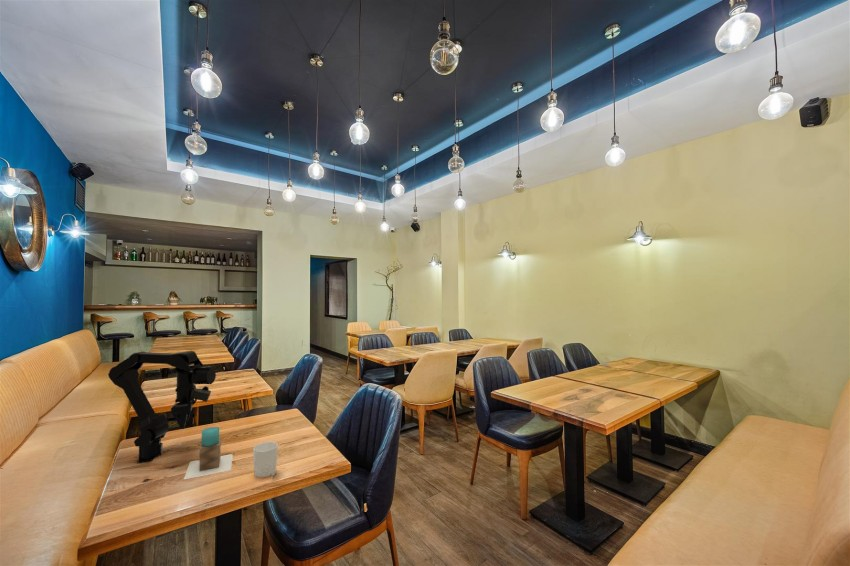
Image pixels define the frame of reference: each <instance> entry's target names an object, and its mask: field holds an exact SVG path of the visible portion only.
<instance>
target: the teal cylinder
mask: <svg viewBox="0 0 850 566" xmlns="http://www.w3.org/2000/svg"><path fill="white" fill-rule="evenodd" d="M219 439H220V427H219V426H218V427H217V426H212V427H207V428H204V429H203V430H201V443H202V447H210V446H214V445H216V444H218V443H219Z"/></svg>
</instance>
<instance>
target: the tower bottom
mask: <svg viewBox="0 0 850 566" xmlns="http://www.w3.org/2000/svg"><path fill="white" fill-rule="evenodd" d="M220 453H221V450H220ZM220 456H221V454H220V455H219V456H218V457H213V458H207V459H202V460H200V459H199V460H200V464H199V471H204V470H209V469H214V468H219V465H220Z"/></svg>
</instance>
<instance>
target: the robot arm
mask: <svg viewBox="0 0 850 566" xmlns="http://www.w3.org/2000/svg"><path fill="white" fill-rule="evenodd" d="M144 364H154V365H155V364H157V365H169V366H171V367H173V368H174V369H172V370H171V371H170V373H171V374H176V387H175V389H174V390H175V391H174V392H175V393H176V395H175V397H176V398H175V400H174V401H175V402H174V404H173V405H172V406H171V408H170V414H171V415H172V416H173V417H174V419H175V421H176V422H177V424H178V426H179V427H180V429H181V430H183V429H185V426H186V422H187V421H189V420H190V415H191V412H192V410H193V406H194V405H195V404H196V403H197V401H203V402H204V403H205V402H208V401H209V398H210V396H211V393H212V391H211V390H210V389H209V386H207V385H212V384H213V383H215V380H216V377H217V374H216V371H215V370H214V369H213V366H212V365H210V366H209V365H208V366H205V365H204V364H203V363H202V360H200V358H199V357H198V355H197V353H196V351H193V350H188V351H180V352H175V353H174V352H173V353H172V352H171V353H170V352H153V351H152V352H150V351H138V352H134V353H132V354H131V355H129V356H128V357H127V358H126V359H124V360H123V361H121V362H119V363H118V364H116V365H115V366H113V367H111V368H110V370H109V372H108V373H107V375H108V379H110V380H111V382H112V383H113V384H114V385H115V386H117V387H119V388H120V389H122V390H123V392H124V394H125V396H126V397H127V400H128V401H129V403H130V405H131V406H132V408H133V410H134V413H135V414H136V415H137V417H138V419H139V421H140V422H139V433H140V435H138V437H136V439H135V440H134V441H133V443H134V447H136V448H137V447H138V460H136V463H137V464H139V463H145V462H149V461H151V462H152V461H154V460H155V457H159V456H162V454H163V445H164V444H163V442H162V439H163V438H165V436H166V433H168V431H169V428H170V425H169V423H170V421H168V420H167V417H166V415H165V414H160V415H159V414H157V413H156V412H155V410H154V408H153V406H152V405H151V403H150V401H149V399H148V397H147V395H146V394H145V392H144V390H143V389H142V387H141V385H140V383H139V377H140V374H139V373H140V372H139V370H140V369H141V368H142V367H143V366H144ZM197 385H204V386H203V387H201V388H198V387H197Z"/></svg>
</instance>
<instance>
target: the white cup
mask: <svg viewBox="0 0 850 566" xmlns="http://www.w3.org/2000/svg"><path fill="white" fill-rule="evenodd" d="M278 447H279V444H278V443H277V442H275V441H265V442H261V443H260V442H259V443H258V444H256V445H254V446H253V449H252V450H253V454H252V455H253V470H254V476H255V477H256V478H266V477H269V476H271V477H272V476H275V475H276V472H277V465H278V464H277V463H278V462H277V461H278Z"/></svg>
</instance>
